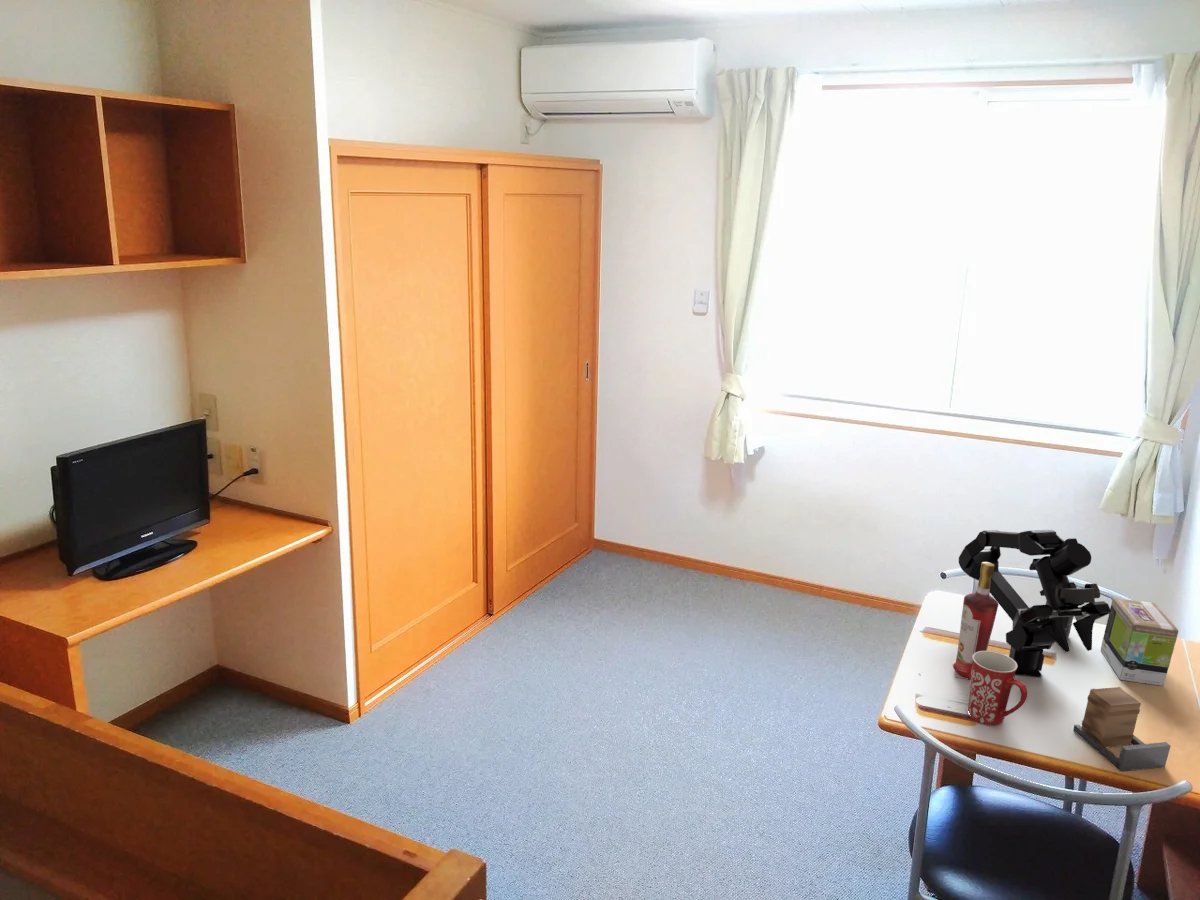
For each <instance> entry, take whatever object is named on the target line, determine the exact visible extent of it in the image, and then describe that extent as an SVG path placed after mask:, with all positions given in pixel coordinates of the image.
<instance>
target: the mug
mask: <svg viewBox="0 0 1200 900" xmlns="http://www.w3.org/2000/svg"><path fill="white" fill-rule="evenodd" d="M972 660H973V662H972V671H971V679H970V683H969V689H968V690H969V691H968V701H967V707H968V711H969V713H970V715H971V718H970V719H972V720H973V721H975V722H976V723H979V724H980V725H981V724H982V725H985V726H992V727H993V726H999V725H1001V724H1002V723H1003V722H1004V719H1005V717H1007V716H1009V715H1011V714H1013V713H1014V712H1017V710H1019V709H1020V708H1022V707H1023V706H1024V704H1025V703H1026V701H1027V699H1028V687H1027V686H1026V684H1025V683H1024V682H1023V681H1021V680H1019V679H1015V675H1016V674H1015V671H1016V670H1017V668H1018V665H1017V663H1016V662H1015V661H1014V660H1013V659H1012V658H1010V657H1009V655H1006V654H1004V653H1001V652H997V651H992V650H987V651H978V652H976V653H974V654H973V655H972ZM1012 686H1013V687H1014V686H1016V687H1018V688H1019V691H1020V699H1019V701H1018V703H1017V704H1016V705H1015V706H1013V707H1011V708H1010V709H1008V710H1007V707H1008V703H1009V699H1010V695H1011V690H1012Z"/></svg>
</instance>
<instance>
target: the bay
mask: <svg viewBox="0 0 1200 900" xmlns="http://www.w3.org/2000/svg"><path fill="white" fill-rule="evenodd" d="M1073 732H1074V733H1076V734H1077V735H1078V736H1079V737H1080V738H1081V739H1082V740H1084V742H1086V743H1087V744H1088V745H1089V746H1090V747H1091V748H1093V749H1094V750H1095V751H1096V752H1097V753H1098V754H1100V755H1101V756H1102V757H1103V758H1104V759H1106V761H1107V762H1109V763H1110V764H1111V765H1113V766H1114V767H1115V768H1116V769H1117V770H1118V771H1119V772H1129V771H1139V770H1150V769H1158V768H1159V769H1160V768H1165V767H1166V764H1167V760H1168V756H1169V754H1170V750H1171V744H1170V743H1168V742H1166V741H1164V742H1152V743H1144V742H1143V741H1142V740H1141V739H1139V737H1137V736H1136V735H1134V736H1133V739H1132V740H1131V744H1130V745H1127V746H1120V747H1121V748H1120V750H1119V751H1120V752H1119V756H1118V757H1117V755H1116V754H1114V753H1113V752H1112V751H1111V750H1109V749H1108V747H1105V746H1104V745H1102V744H1101V743H1100V742H1099V741H1098V740H1096V739H1095V738H1094V737H1093V736H1092V735H1091V734H1089V733H1088V732H1087V731H1086V730H1085V729H1083V728H1082V725H1080V724H1074V726H1073Z"/></svg>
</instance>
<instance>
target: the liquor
mask: <svg viewBox="0 0 1200 900" xmlns="http://www.w3.org/2000/svg"><path fill="white" fill-rule="evenodd" d="M993 570H994V564H992V563H989V562H982V564H981V570H980V579H979V581H978V584H977V587H976V590H975V592H971V593H968V594H966V595H964V597H963V601H962V602H963V603H962V611H961V617H960V619H961V620H960V629H959V637H958V638H959V639H958V645H957V652H956V658H955V662H954V663H953V664H952V667H953V669H954V671H955V672H956V673H957V674H958V676H960V677H961V676H962V678H963V677H964V678H963V679H966V678H968V679H967V680H971V671H972V662H973V660H972V655H973V654H974V653H976V652H978V651H988V648H989V644H990V640H991V636H992V632H993V629H994V624H995V620H996V617H997V611H998V607H999V603H998V602H997V601H996V600H995V598H994V597H993V596H992V595H991V593H990V581H991V576H992V574H993Z"/></svg>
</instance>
